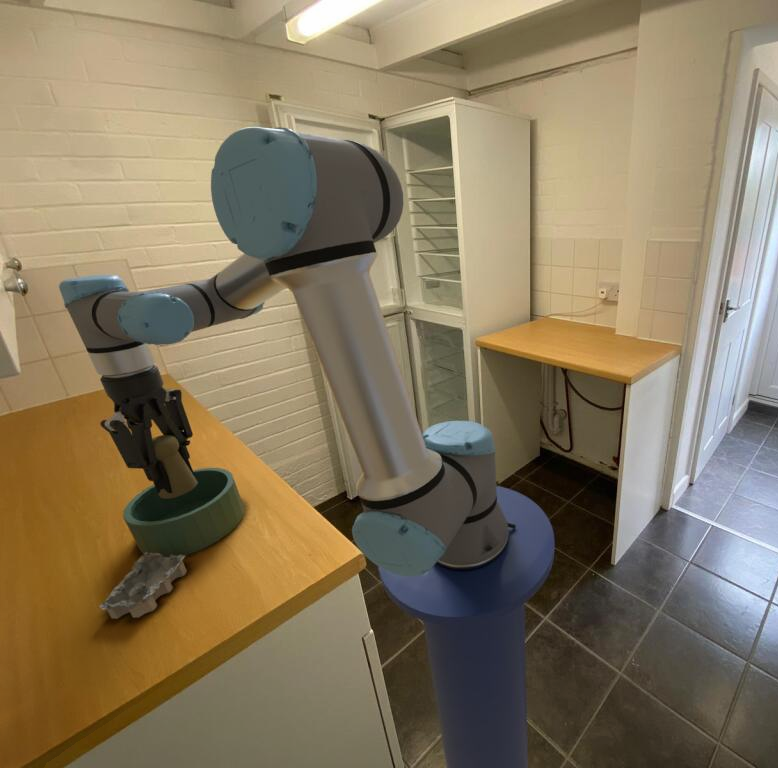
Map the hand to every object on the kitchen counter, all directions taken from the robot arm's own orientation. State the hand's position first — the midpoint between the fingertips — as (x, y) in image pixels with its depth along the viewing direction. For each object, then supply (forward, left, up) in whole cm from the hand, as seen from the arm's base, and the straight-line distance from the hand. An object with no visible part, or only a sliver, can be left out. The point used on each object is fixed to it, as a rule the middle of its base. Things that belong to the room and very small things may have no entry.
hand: (176, 483), depth 80 cm
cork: (0, 0, -1) cm, 1 cm away
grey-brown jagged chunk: (-5, +15, -11) cm, 19 cm away
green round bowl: (0, 0, -10) cm, 10 cm away
